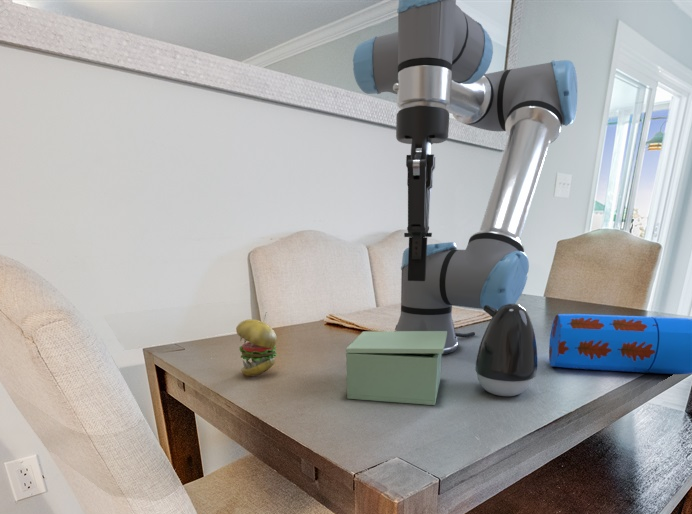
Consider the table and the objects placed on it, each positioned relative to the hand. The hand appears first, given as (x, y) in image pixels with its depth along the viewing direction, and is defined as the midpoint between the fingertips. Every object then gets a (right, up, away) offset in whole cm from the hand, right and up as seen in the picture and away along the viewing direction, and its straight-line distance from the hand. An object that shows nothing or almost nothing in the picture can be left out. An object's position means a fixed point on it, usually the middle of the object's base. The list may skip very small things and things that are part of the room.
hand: (416, 280), depth 74 cm
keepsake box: (-3, -17, +7) cm, 19 cm away
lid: (-3, -10, +4) cm, 11 cm away
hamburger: (-29, -14, +15) cm, 35 cm away
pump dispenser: (+16, -18, +7) cm, 25 cm away
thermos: (+29, -7, +19) cm, 36 cm away
